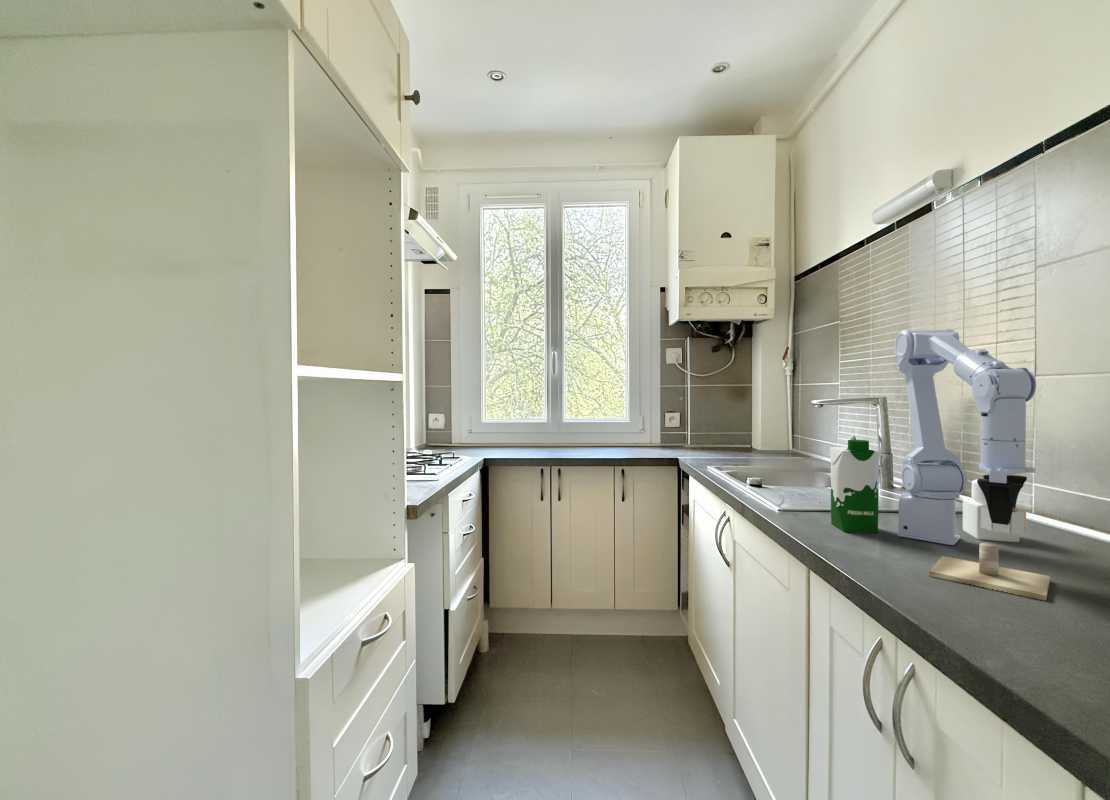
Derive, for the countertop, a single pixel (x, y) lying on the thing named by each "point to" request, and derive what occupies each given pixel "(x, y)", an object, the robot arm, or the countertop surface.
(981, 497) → the medicine bottle
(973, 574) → the duct board
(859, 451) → the milk carton
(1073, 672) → the countertop surface
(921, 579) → the countertop surface
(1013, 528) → the collar
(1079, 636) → the countertop surface
